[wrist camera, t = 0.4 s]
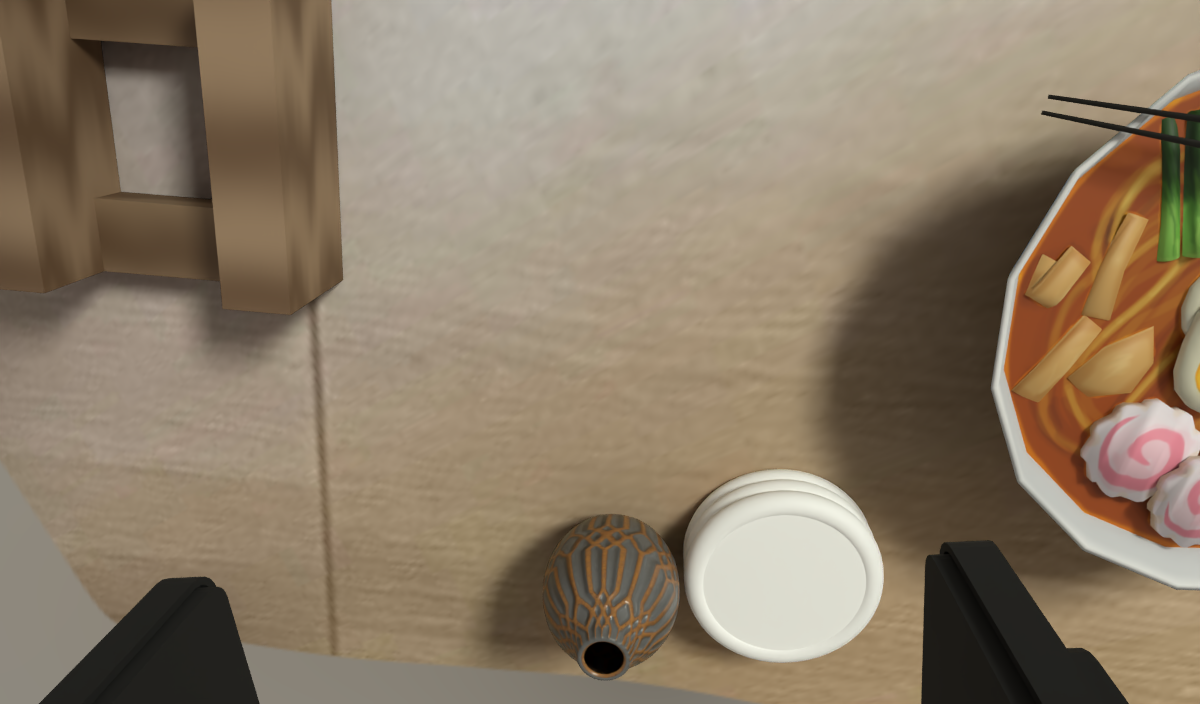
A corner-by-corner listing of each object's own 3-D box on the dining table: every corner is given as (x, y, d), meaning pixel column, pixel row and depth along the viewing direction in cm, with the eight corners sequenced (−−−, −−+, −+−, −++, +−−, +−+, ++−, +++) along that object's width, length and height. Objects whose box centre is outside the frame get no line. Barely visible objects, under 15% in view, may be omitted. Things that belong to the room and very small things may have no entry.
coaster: (878, 613, 45) (894, 656, 42) (698, 633, 46) (700, 677, 43) (860, 451, 42) (877, 485, 38) (668, 478, 43) (668, 513, 40)
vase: (679, 604, 45) (681, 723, 37) (557, 602, 46) (532, 719, 38) (678, 494, 43) (680, 595, 35) (549, 493, 44) (521, 593, 36)
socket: (25, -49, 37) (-93, -69, 31) (330, -29, 36) (266, -46, 30) (72, 256, 41) (-22, 287, 36) (343, 279, 41) (290, 314, 35)
